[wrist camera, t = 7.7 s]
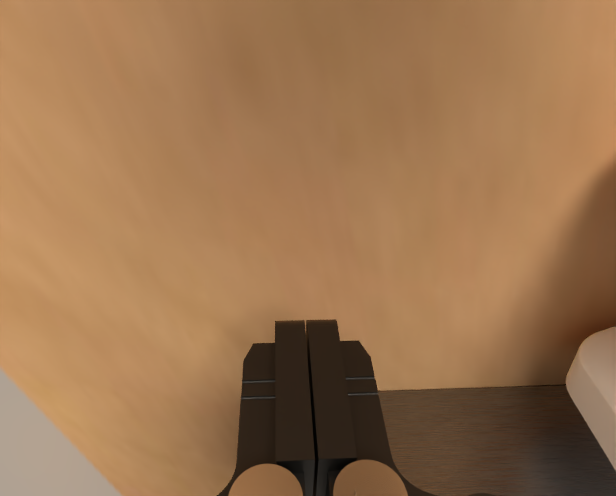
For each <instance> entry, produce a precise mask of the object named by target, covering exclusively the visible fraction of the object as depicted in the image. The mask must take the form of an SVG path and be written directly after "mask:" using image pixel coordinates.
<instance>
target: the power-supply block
mask: <svg viewBox="0 0 616 496" xmlns="http://www.w3.org/2000/svg"><path fill="white" fill-rule="evenodd" d="M378 396H379V399H380V404H381V409H382V414H383V418H384V423H385V428H386V432H387V437H388V442H389V446H390V451H391V455H392V459H393V461H394V463H395V466H396V467H397V469H398V470H399V472H400V473H401V474H402V476H403V477H404V478H405V479H406V480H407V481H409V482H410V483H411V484H412V485H414V486H415V487H417V488H419V489H421V490H423V491H425V492H428V493H431V494H434V495H438V496H469V495H472V494H475V493H488V494H492V495H496V496H616V470H615V469H614V467H613V466H612V464H611V462H610V461H609V459H608V457H607V456H606V454H605V452H604V451H603V449H602V447H601V446H600V444H599V443H598V441H597V439H596V438H595V436H594V434H593V433H592V431H591V429H590V428H589V426H588V425H587V423H586V421H585V420H584V418H583V416H582V415H581V413H580V411H579V410H578V408H577V407H576V405H575V403H574V402H573V400H572V398H571V397H570V395H569V393H568V390H567V387H566V385H557V386H526V387H495V388H464V389H433V390H402V391H378ZM240 408H241V404H240ZM239 423H240V419H239ZM238 439H239V433H238ZM237 454H238V448H237ZM236 464H237V463H236Z"/></svg>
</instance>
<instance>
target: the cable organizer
mask: <svg viewBox="0 0 616 496" xmlns="http://www.w3.org/2000/svg"><path fill="white" fill-rule="evenodd" d="M566 387H567V390H568V393H569V395H570V397H571V398H572V400H573V402H574V403H575V405H576V407H577V408H578V410H579V411H580V413H581V415H582V416H583V418H584V420H585V421H586V423H587V425H588V426H589V428H590V429H591V431H592V433H593V434H594V436H595V438H596V439H597V441H598V443H599V444H600V446H601V447H602V449H603V451H604V452H605V454H606V456H607V457H608V459H609V461H610V462H611V464H612V466H613V467H614V469H615V470H616V326H614V327H610V328H608V329H605V330H602V331H599V332H596V333H594V334H592V335H590V336H589V337H588V338H586V339H585V340H584V341H583V342H582V344H581V345H580V347H579V349H578V351H577V354H576V356H575V358H574V360H573V362H572V365H571V367H570V369H569V371H568V374H567V376H566Z"/></svg>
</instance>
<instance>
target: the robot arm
mask: <svg viewBox="0 0 616 496" xmlns="http://www.w3.org/2000/svg"><path fill="white" fill-rule="evenodd" d="M217 496H438V495H434V494H431V493H428V492H425V491H423V490H421V489H419V488H417V487H415V486H414V485H412V484H411V483H410V482H409V481H407V480H406V479H405V478H404V477H403V476H402V474H401V473H400V472H399V470H398V469H397V467H396V466H395V463H394V461H393V459H392V455H391V451H390V446H389V442H388V437H387V432H386V428H385V423H384V418H383V414H382V409H381V404H380V399H379V396H378V390H377V385H376V381H375V378H374V371H373V367H372V362H371V357H370V356H369V354H368V353H367V352H366V350H365V349H364V348H363V346H362V345H361V344H360V342H359V341H340V338H339V332H338V325H337V321H336V320H307V321H306V332H305V321H304V320H301V321H275V343H255V344H253V345H252V347H251V349H250V351H249V352H248V354H247V356H246V357H245V359H244V362H243V378H242V393H241V408H240V423H239V439H238V454H237V464H236V469H235V472H234V475H233V477H232V479H231V480H230V482H229V483H228V485H227V486H226V487H225V489H224V490H223V491H222V492H221V493H220V494H218V495H217ZM469 496H496V495H492V494H488V493H475V494H472V495H469Z"/></svg>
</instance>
